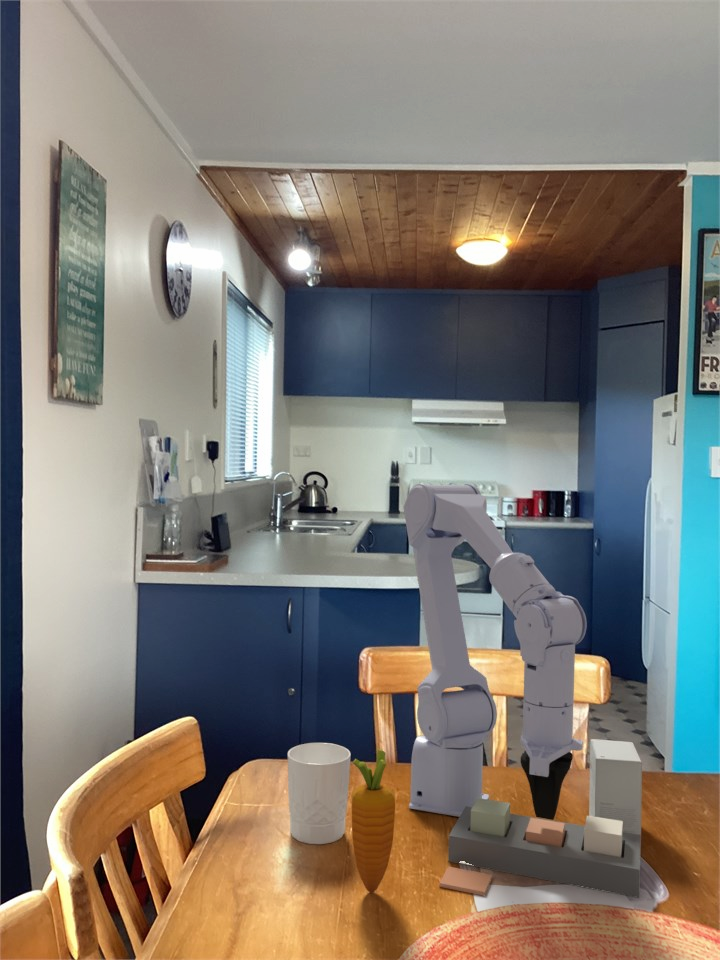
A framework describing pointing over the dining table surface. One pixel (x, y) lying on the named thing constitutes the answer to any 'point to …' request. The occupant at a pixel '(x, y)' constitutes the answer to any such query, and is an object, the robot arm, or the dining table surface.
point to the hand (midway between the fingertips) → (545, 816)
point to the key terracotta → (546, 832)
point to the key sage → (490, 817)
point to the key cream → (603, 836)
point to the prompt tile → (466, 880)
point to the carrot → (372, 823)
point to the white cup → (318, 791)
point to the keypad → (548, 856)
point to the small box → (616, 783)
